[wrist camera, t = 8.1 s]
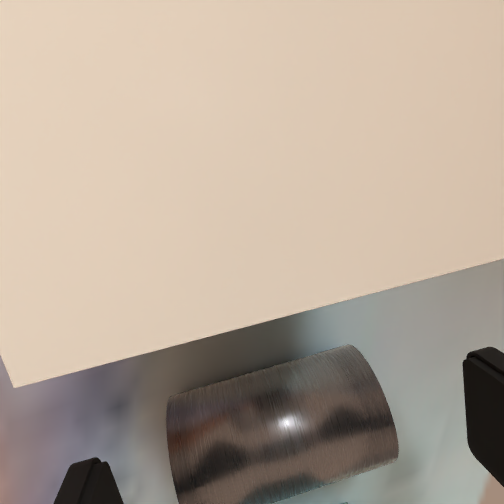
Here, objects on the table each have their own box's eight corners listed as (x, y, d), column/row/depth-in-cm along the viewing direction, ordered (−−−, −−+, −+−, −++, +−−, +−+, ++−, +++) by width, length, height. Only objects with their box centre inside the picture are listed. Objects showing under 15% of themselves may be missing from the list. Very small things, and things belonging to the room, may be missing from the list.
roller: (338, 324, 13) (395, 397, 9) (348, 402, 14) (401, 490, 11) (168, 372, 12) (163, 469, 9) (195, 449, 13) (200, 558, 10)
